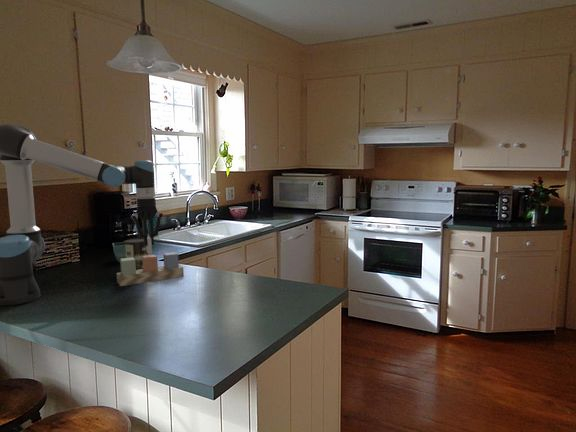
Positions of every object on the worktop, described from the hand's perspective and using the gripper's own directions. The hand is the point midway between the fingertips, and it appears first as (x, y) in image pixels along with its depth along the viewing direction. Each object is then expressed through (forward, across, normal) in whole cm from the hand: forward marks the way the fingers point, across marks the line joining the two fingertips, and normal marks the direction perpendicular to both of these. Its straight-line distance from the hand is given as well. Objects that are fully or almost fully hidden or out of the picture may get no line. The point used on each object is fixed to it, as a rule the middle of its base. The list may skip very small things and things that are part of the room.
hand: (149, 252), depth 187 cm
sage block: (+9, -9, 0) cm, 12 cm away
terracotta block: (+9, 0, 0) cm, 9 cm away
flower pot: (+12, -3, +44) cm, 46 cm away
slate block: (+9, +9, 0) cm, 12 cm away
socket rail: (+12, 0, 0) cm, 12 cm away
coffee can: (+12, -1, +20) cm, 23 cm away
